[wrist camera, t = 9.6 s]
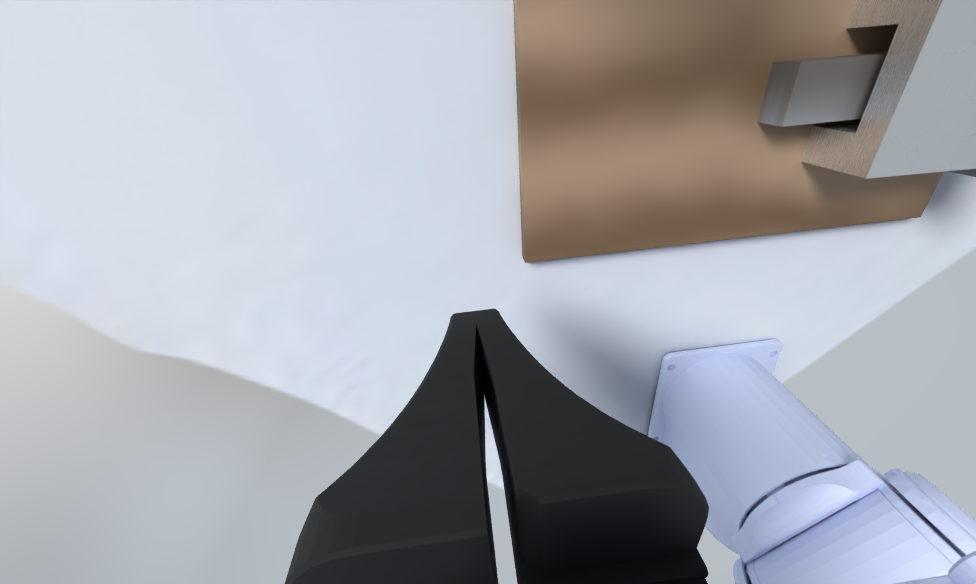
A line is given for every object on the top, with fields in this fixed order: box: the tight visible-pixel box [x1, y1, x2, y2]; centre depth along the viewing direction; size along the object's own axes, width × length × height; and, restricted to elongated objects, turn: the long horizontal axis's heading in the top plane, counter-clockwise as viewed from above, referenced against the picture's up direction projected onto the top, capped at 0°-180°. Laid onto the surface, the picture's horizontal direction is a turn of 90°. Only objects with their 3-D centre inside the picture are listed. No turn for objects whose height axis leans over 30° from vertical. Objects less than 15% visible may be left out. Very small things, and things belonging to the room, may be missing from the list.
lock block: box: [801, 0, 976, 179], centre depth 16 cm, size 7×6×3 cm
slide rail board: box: [513, 0, 976, 263], centre depth 16 cm, size 14×22×5 cm, turn 94°
